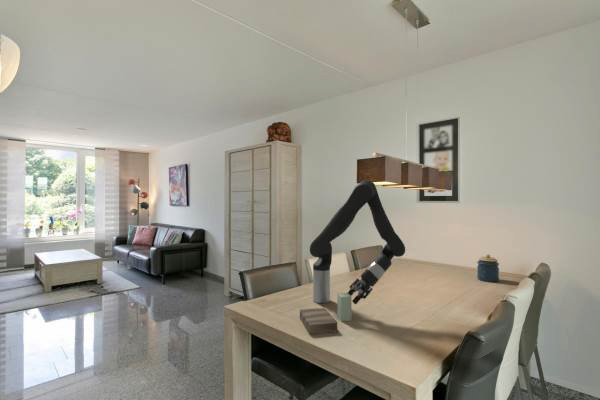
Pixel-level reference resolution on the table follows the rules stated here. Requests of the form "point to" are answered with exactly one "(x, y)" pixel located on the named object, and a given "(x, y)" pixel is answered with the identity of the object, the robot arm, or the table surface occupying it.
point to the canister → (488, 269)
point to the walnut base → (318, 321)
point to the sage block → (344, 307)
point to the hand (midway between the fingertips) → (350, 300)
